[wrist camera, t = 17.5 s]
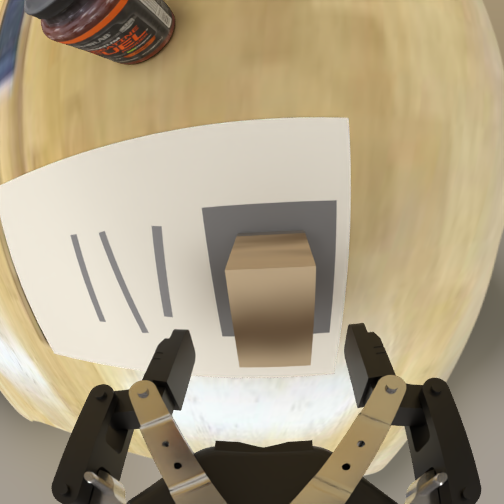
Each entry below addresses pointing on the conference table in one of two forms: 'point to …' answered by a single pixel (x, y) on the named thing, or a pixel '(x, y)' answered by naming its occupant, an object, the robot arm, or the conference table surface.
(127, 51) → the supplement bottle
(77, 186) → the board
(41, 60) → the conference table surface
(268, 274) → the block
